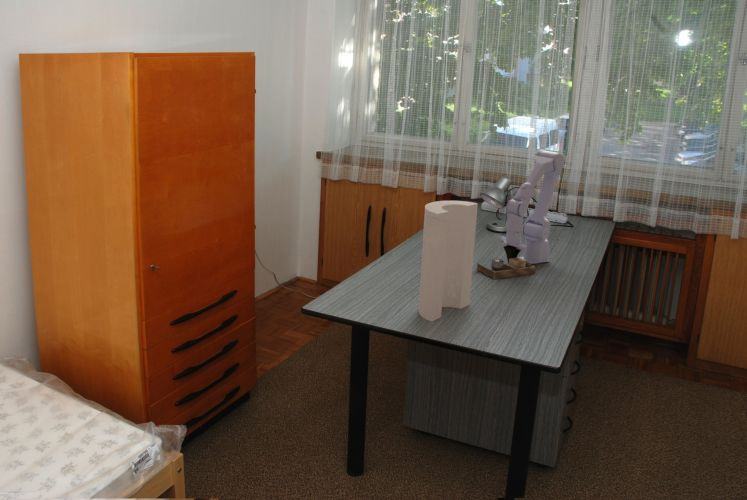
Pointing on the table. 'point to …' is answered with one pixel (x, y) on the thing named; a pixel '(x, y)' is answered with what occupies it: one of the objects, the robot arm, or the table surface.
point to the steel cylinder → (497, 265)
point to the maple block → (517, 263)
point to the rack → (506, 271)
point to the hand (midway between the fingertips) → (511, 264)
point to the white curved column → (447, 256)
